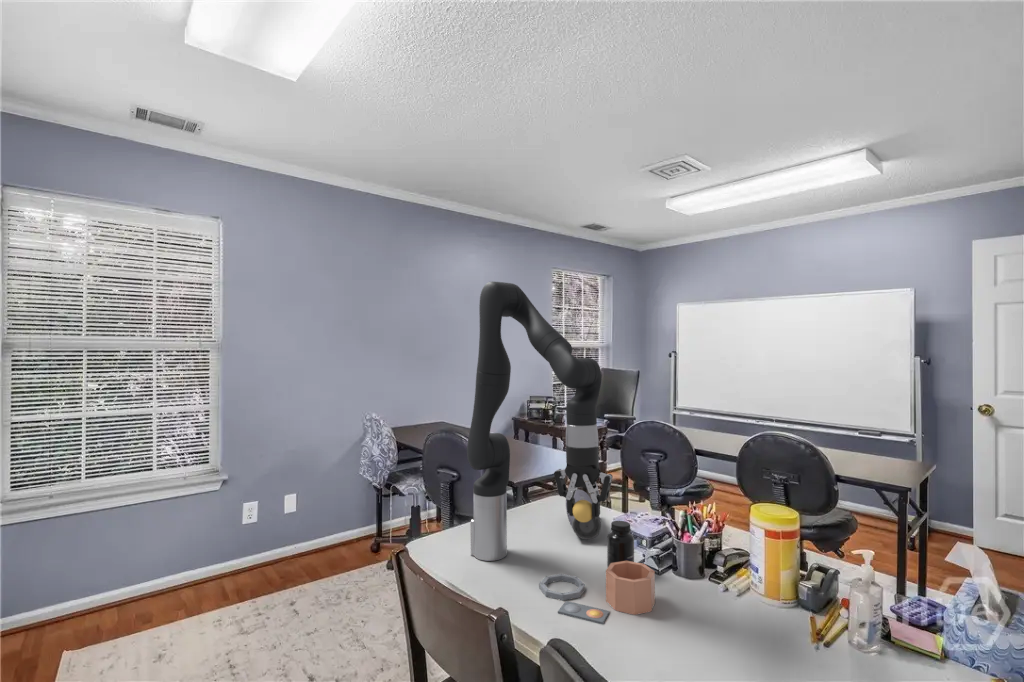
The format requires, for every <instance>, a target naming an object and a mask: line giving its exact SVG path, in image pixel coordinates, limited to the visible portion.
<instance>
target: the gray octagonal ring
mask: <svg viewBox="0 0 1024 682" xmlns="http://www.w3.org/2000/svg"><path fill="white" fill-rule="evenodd" d="M559 580H563V581H562V582H566V581H567V583H571V582H572V583H571V584H575V585H576V587H577V588H576V589H575V590H572V591H571V590H570V591H566V592H560V591H556V590H551V589H549V588H548V587H547V586H548V585H549V584H550V583H554V582H553V581H556V582H560V581H559ZM549 582H550V583H549ZM538 585H539V586H538V587H539V590H540V591H541V592H542V594H543V593H544V594H543V595H544V596H545V597H546V598H550V597H552V598H551V599H554V598H556V599H555V600H558V599H560V601H568V600H567V599H569V600H572V599H571V598H574V599H579V598H581V596H582V595H583V593H584V592H585V591H586V584H585V583H584V582H583V581H582V580H581V579H580V578H579V577H578V576H575V575H569V574H565V573H558V574H551V575H545V577H544V578H543V579H542V580H541V581H540V582H539V583H538ZM546 585H547V586H546Z"/></svg>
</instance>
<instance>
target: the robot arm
mask: <svg viewBox="0 0 1024 682" xmlns="http://www.w3.org/2000/svg"><path fill="white" fill-rule="evenodd" d="M478 305H479V307H478V308H479V315H478V316H479V339H478V341H479V342H478V357H477V365H476V373H475V389H474V390H475V391H474V401H473V402H474V403H473V409H472V417H471V424H470V428H469V432H468V439H467V447H466V455H467V456H466V458H467V461H468V464H469V465H470V467H471V468H472V469H474V470H475V471H482V470H485V471H484V473H483V474H482V475H481V476H479V478H477V479H476V480H475V481H474V482H473V490H472V493H473V518H472V519H471V520H470V556H472V557H473V556H474V557H475V558H476V559H478V560H479V561H486V562H487V561H488V562H489V561H493V562H494V561H499V560H501V559H504V558H506V556H507V555H508V524H507V523H508V519H507V517H508V514H507V512H508V506H507V505H508V503H507V500H508V499H507V497H508V496H507V494H508V493H507V492H508V491H507V490H508V489H507V487H508V484H509V481H510V465H511V464H510V463H511V448H510V444H509V441H508V439H507V437H506V436H505V434H502V433H500V432H493V433H491V429H492V424H493V420H494V418H495V415H496V414H497V412H498V411H499V409H500V407H501V406H502V404H503V403H504V401H505V399H506V398H507V395H508V393H509V390H510V389H509V388H510V384H511V383H510V382H511V373H512V372H511V369H512V365H511V361H510V358H509V355H508V353H507V350H506V348H505V345H504V343H503V340H502V331H501V330H502V320H503V319H502V318H509V317H510V318H511V319H514V320H515V321H517V322H518V323H519V324H520V325H521V326H523V327H524V330H525V332H526V334H527V337H528V340H529V342H530V344H531V346H532V347H533V349H535V351H536V352H537V353H538V354H540V355H539V356H541V357H542V358H543V359H544V360H545V361H546V362H548V364H549V365H550V368H551V369H552V371H553V373H554V375H555V376H556V377H557V379H558V381H559V382H560V383H561V384H562V385H564V386H565V387H567V388H569V389H573V390H574V389H575V392H574V396H573V397H572V398H570V399H569V400H568V401H566V402H567V403H566V409H565V412H566V420H565V421H566V427H565V428H566V429H565V452H566V453H565V459H566V460H565V462H566V465H565V468H563V469H562V468H558V469H557V470H555V471H554V472H553V475H554V480H555V484H556V488H557V491H558V495H559V497H563V498H565V500H566V499H567V510H566V513H567V512H568V513H569V515H570V516H574V515H573V506H574V504H575V498H574V495H575V492H576V490H577V489H579V488H583V489H586V490H587V492H588V495H589V496H590V498H591V499H592V501H593V503H592V519H597V518H598V516H599V517H600V515H601V502H602V503H603V502H606V500H607V499H608V498H609V494H610V490H611V487H612V486H611V485H612V482H613V474H611V473H604V472H602V471H601V469H600V465H599V464H600V462H599V461H600V456H599V452H600V451H599V442H600V440H599V431H598V424H597V404H598V400H599V397H600V391H601V386H602V385H601V384H602V377H603V376H602V369H601V366H600V364H599V363H598V362H597V361H596V359H593V358H591V357H578V358H577V357H576V356H574V355H573V354H572V353H573V347H572V344H571V343H570V341H568V339H566V338H565V337H564V336H563V335H562V334H560V332H559V331H557V330H556V329H555V328H554V327H553V326H552V325H551V324H550V323H549V321H547V320H546V318H544V317H543V315H542V314H541V312H540V311H538V309H537V308H536V306H534V304H533V303H532V301H531V300H530V299H529V297H528V296H527V295H526V293H525V292H524V291H523V290H522V289H521V287H520V286H518V285H517V284H515V283H511V282H501V281H489V282H486V283H485V284H484V286H483V287H482V289H481V291H480V296H479V304H478ZM566 477H567V478H568V480H569V481H570V482H569V485H568V487H567V484H566V480H565V478H566ZM599 478H600V482H601V483H602V488H601V492H599V487H598V484H597V481H598V480H599Z"/></svg>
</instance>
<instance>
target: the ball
mask: <svg viewBox="0 0 1024 682" xmlns="http://www.w3.org/2000/svg"><path fill="white" fill-rule="evenodd" d="M573 515H574V517H575V518H576V520H578V521H580V522H588V521H590V520H591V519H592V504H591V503H590V502H589V501H587V500H579V501H577V502H576V503H575V504H574V506H573Z"/></svg>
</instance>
